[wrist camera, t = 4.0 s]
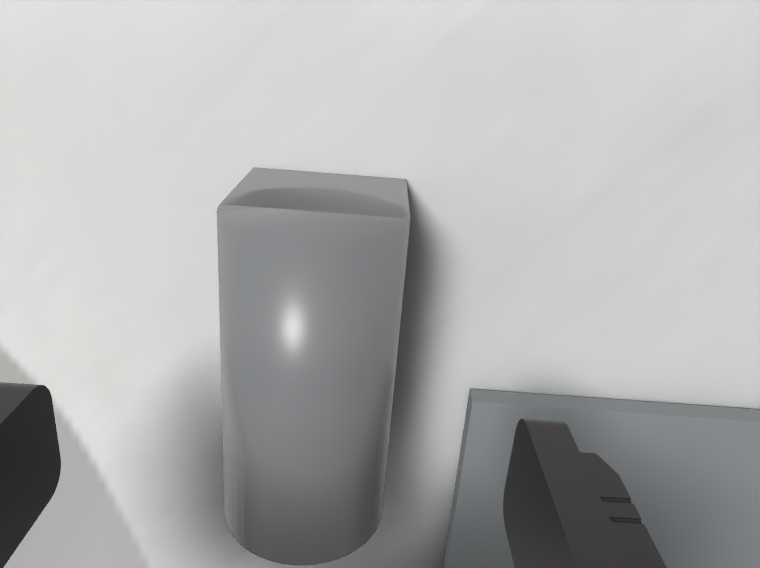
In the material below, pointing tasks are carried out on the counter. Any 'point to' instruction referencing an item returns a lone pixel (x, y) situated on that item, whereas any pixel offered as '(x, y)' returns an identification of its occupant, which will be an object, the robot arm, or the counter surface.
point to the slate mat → (621, 474)
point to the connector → (308, 357)
